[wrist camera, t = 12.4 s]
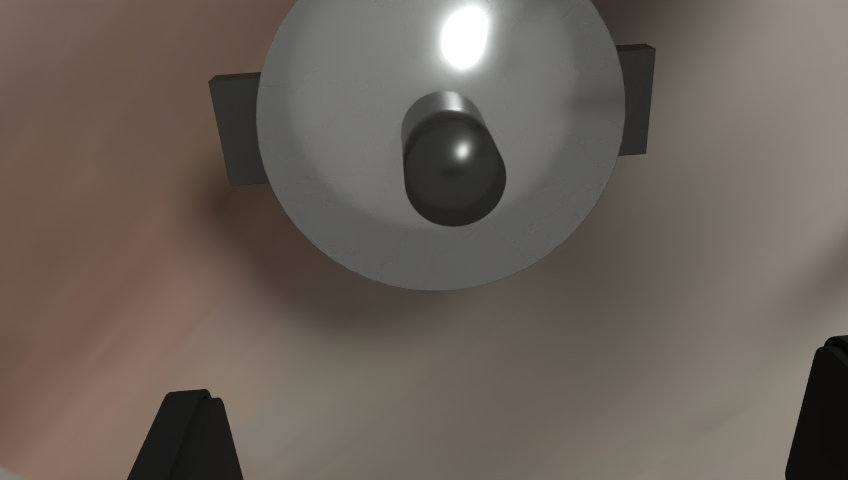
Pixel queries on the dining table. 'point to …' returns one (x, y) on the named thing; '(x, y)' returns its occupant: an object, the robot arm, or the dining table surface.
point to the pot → (239, 111)
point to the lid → (440, 132)
